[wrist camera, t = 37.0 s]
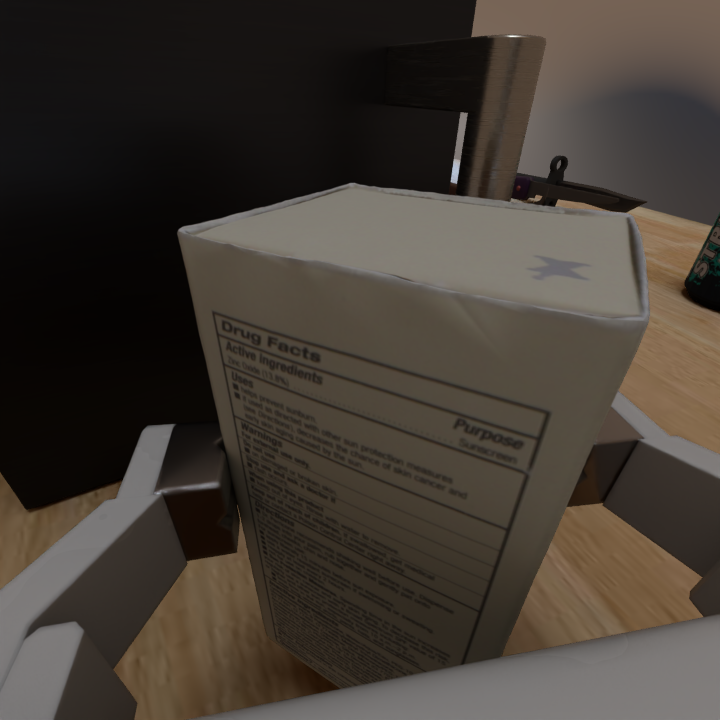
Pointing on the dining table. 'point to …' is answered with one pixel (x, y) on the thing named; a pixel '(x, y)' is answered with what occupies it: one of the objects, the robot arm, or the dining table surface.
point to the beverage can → (707, 271)
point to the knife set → (566, 190)
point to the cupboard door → (200, 181)
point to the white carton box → (408, 407)
